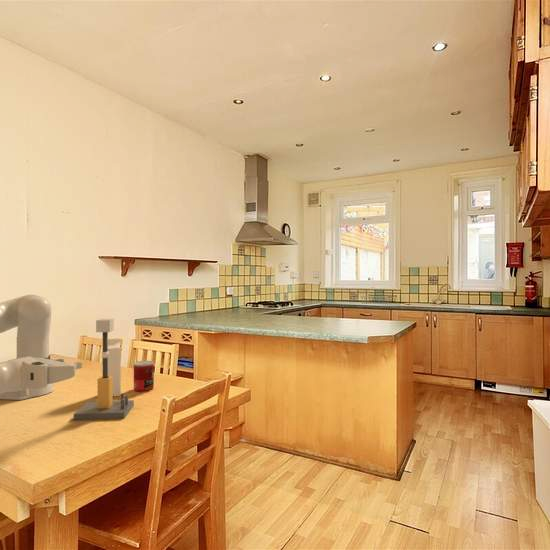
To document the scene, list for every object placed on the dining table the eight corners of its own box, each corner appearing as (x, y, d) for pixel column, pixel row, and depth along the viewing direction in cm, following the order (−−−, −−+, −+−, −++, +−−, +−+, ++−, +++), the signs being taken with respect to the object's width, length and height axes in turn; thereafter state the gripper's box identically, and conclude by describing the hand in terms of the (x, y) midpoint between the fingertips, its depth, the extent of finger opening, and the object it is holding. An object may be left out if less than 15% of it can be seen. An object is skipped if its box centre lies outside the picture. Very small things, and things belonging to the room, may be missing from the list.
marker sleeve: (97, 408, 131) (97, 379, 131) (101, 404, 135) (101, 376, 135) (109, 408, 131) (109, 378, 131) (112, 404, 135) (112, 375, 135)
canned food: (147, 392, 155) (147, 365, 155) (129, 391, 157) (129, 364, 157) (157, 387, 163) (157, 361, 162) (140, 386, 164) (140, 360, 164)
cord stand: (73, 420, 126) (73, 322, 126) (87, 407, 138) (87, 317, 138) (124, 418, 128) (124, 321, 128) (133, 405, 140) (133, 317, 140)
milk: (120, 395, 151) (120, 339, 151) (103, 398, 148) (104, 340, 148) (118, 391, 157) (118, 337, 156) (102, 393, 154) (102, 338, 153)
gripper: (6, 378, 116) (52, 368, 128) (44, 389, 105) (91, 377, 117) (6, 357, 116) (52, 349, 127) (44, 366, 105) (91, 356, 117)
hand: (71, 363), depth 122 cm, fingers open, 8 cm apart
